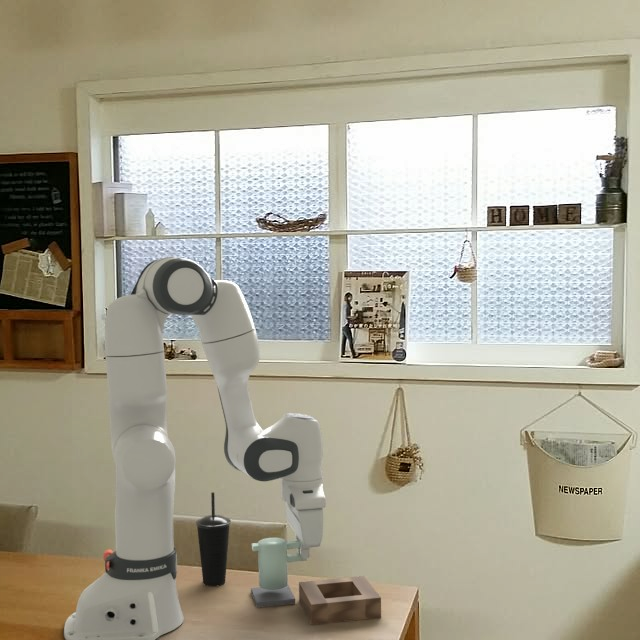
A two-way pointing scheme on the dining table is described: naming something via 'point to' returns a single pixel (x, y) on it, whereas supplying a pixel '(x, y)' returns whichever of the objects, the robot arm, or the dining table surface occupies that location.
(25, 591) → the dining table surface
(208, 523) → the drinking cup
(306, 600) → the stand
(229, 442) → the robot arm
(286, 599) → the mat
